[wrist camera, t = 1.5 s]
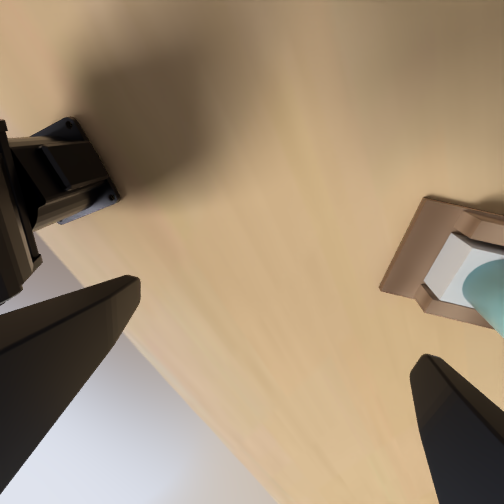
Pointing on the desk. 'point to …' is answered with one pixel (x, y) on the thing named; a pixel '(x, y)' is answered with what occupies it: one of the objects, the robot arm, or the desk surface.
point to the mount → (428, 248)
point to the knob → (471, 277)
